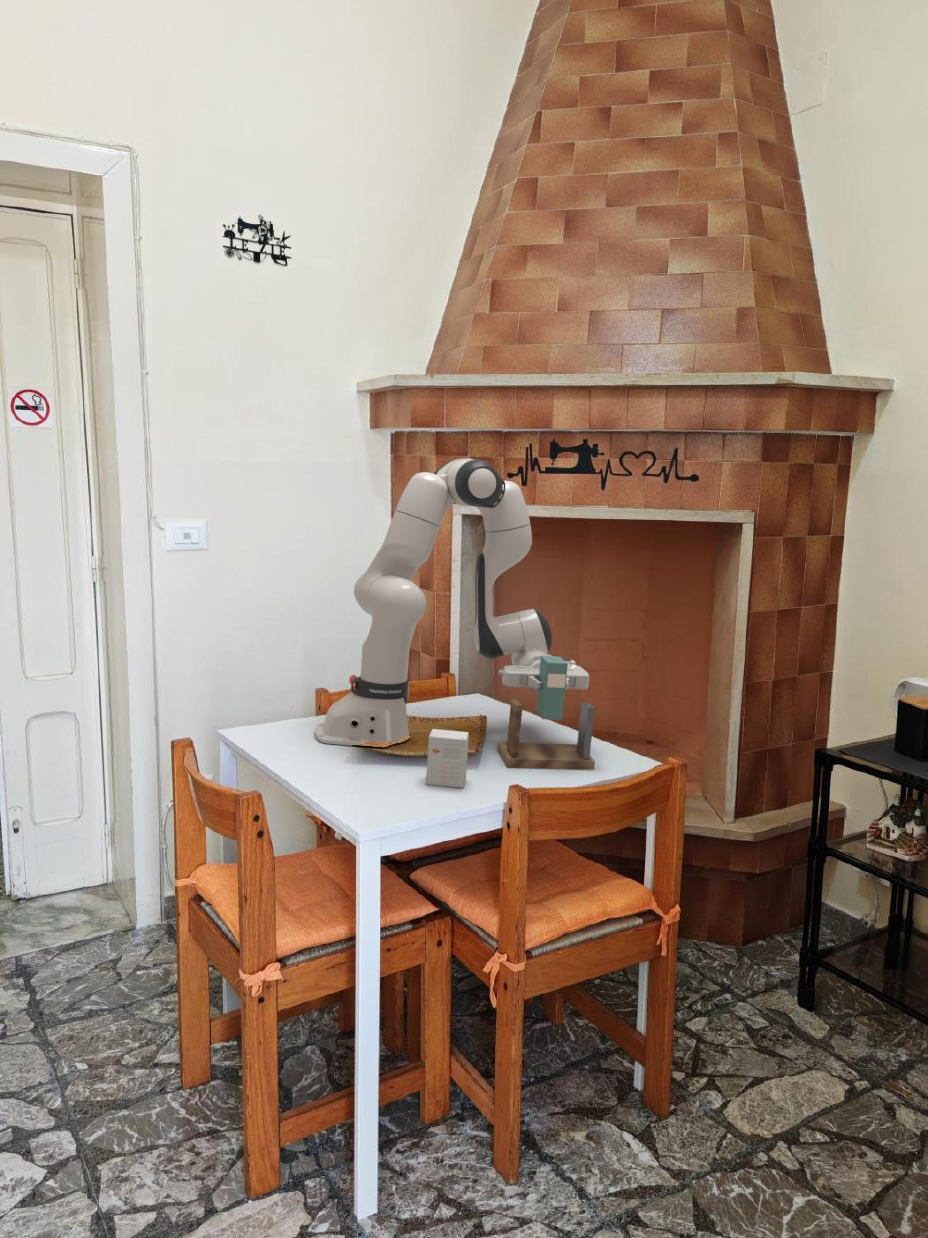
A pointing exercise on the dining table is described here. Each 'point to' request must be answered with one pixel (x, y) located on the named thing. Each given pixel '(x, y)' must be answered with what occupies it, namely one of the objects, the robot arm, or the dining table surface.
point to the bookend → (585, 730)
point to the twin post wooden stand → (537, 749)
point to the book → (552, 687)
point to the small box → (447, 758)
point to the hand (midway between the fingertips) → (552, 686)
